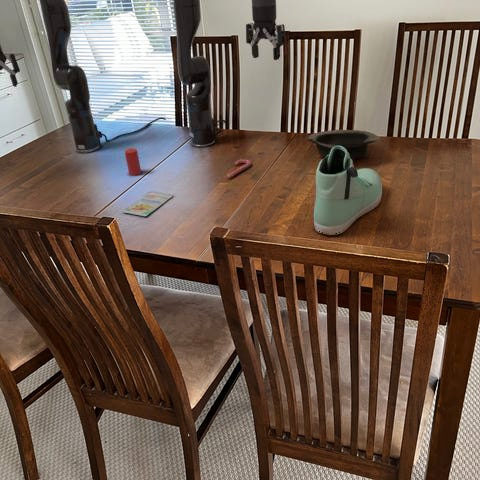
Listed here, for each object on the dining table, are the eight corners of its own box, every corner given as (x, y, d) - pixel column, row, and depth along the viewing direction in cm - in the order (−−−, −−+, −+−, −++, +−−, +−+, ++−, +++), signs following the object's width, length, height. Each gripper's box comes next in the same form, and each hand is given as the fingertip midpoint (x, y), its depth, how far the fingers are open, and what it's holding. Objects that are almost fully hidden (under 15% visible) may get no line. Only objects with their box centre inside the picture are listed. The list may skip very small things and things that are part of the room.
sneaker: (389, 187, 148) (396, 123, 138) (356, 242, 123) (361, 168, 112) (346, 181, 154) (350, 119, 144) (306, 232, 129) (307, 161, 118)
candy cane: (215, 176, 165) (215, 172, 164) (240, 161, 175) (240, 157, 174) (229, 180, 162) (229, 175, 161) (254, 164, 172) (254, 160, 171)
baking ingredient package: (121, 211, 146) (150, 191, 157) (122, 212, 146) (150, 192, 158) (145, 215, 142) (173, 195, 154) (145, 216, 143) (173, 196, 154)
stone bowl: (336, 174, 158) (335, 147, 154) (295, 157, 179) (293, 133, 174) (394, 156, 167) (394, 130, 163) (348, 141, 187) (348, 118, 183)
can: (127, 175, 171) (122, 152, 167) (131, 170, 175) (127, 148, 170) (138, 175, 170) (134, 152, 166) (143, 170, 174) (138, 148, 170)
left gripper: (-35, 43, 148) (-17, 95, 157) (11, 35, 155) (27, 86, 164) (-41, 41, 153) (-23, 92, 162) (4, 33, 160) (19, 83, 169)
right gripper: (238, 5, 150) (242, 59, 159) (274, 5, 142) (276, 62, 150) (253, 2, 155) (256, 54, 163) (289, 2, 146) (290, 58, 155)
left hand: (2, 89), depth 163 cm, fingers open, 8 cm apart
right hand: (266, 58), depth 157 cm, fingers open, 8 cm apart
